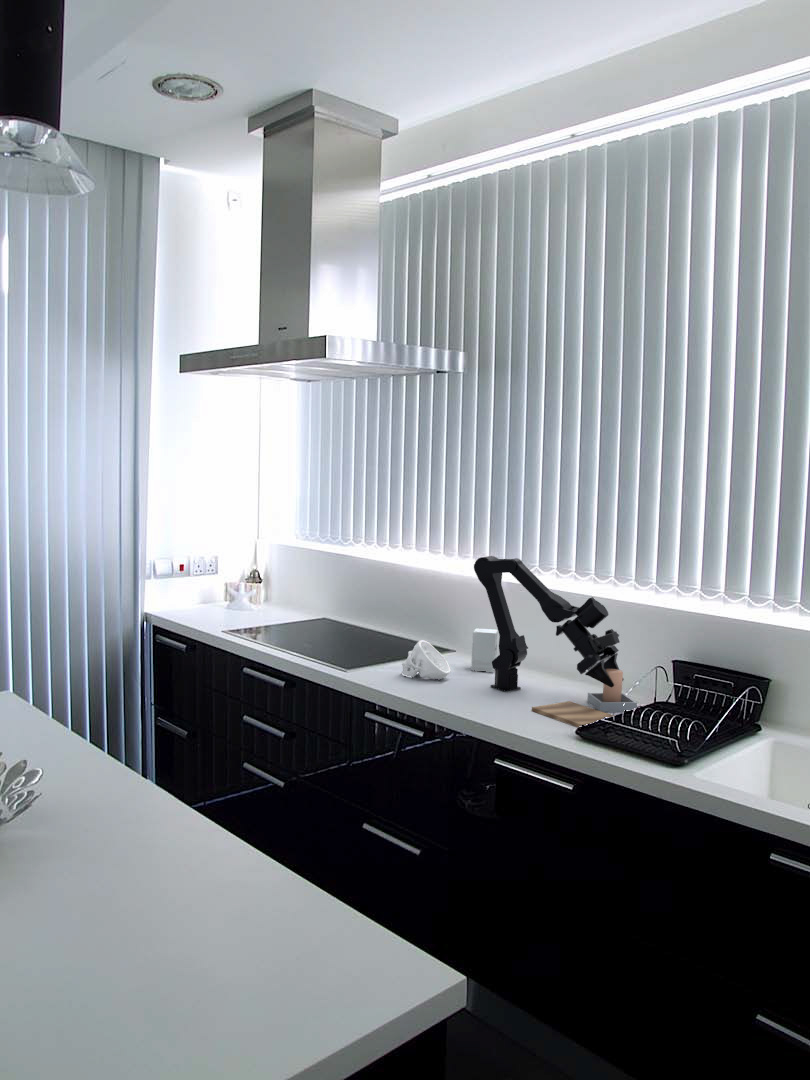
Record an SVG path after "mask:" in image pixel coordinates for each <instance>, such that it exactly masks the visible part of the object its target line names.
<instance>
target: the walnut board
mask: <svg viewBox="0 0 810 1080" xmlns="http://www.w3.org/2000/svg"><path fill="white" fill-rule="evenodd" d="M531 712H534V713H536V714H538V715H542V716H545V717H548V718H551V719H554V720H557V721H559V722H562V723H565V724H568V725H571V726H573V727H577V728H579V726H581V725H586V724H590V723H593V722H595V721H597V720H601V719H603V718H604V717H612V716H615V715H613V714H612V713H609V712H602V711H599V710H597V709H596V708H594V707H593V708H592V707H590V706H589V707H588V706H586V705H583V704H580V703H577V702H573V701H571V700H568V701H562V702H556V703H551V704H550V703H548V704H544V705H543V704H542V705H538V706H531Z"/></svg>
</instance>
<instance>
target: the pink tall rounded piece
mask: <svg viewBox="0 0 810 1080" xmlns="http://www.w3.org/2000/svg"><path fill="white" fill-rule="evenodd" d="M605 670H606V672H607V673H608V675H609V677H610V678H611V680H612V681H613V683H614V686H613V687H609V686H607V685H605V684H604V683H602V685H603V686H602V693H603V700H602V702H621V696H622V693H623V692H622V691H623V681H622V679H624V677H623V675H624V671H623V670H621V669H619V670H618V669H605Z"/></svg>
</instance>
